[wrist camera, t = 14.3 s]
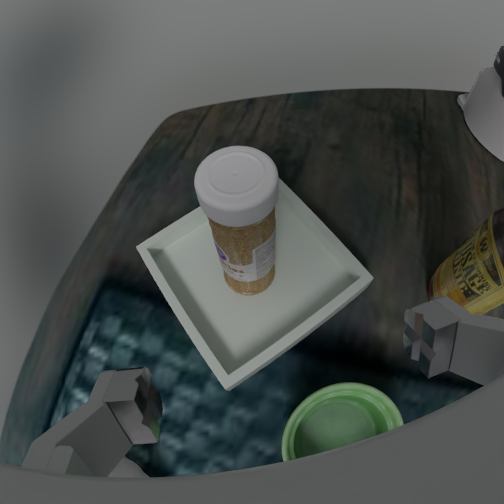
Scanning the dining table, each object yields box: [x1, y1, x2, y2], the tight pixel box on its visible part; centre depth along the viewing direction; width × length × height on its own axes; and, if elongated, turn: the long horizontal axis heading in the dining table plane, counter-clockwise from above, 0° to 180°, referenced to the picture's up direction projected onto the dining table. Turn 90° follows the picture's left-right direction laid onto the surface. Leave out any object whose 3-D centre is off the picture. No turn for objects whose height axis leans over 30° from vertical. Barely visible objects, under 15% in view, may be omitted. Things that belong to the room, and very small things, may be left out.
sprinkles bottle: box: [194, 146, 279, 295], centre depth 23 cm, size 5×5×14 cm
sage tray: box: [136, 177, 374, 391], centre depth 29 cm, size 15×15×2 cm
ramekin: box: [281, 382, 404, 462], centre depth 21 cm, size 9×9×4 cm
